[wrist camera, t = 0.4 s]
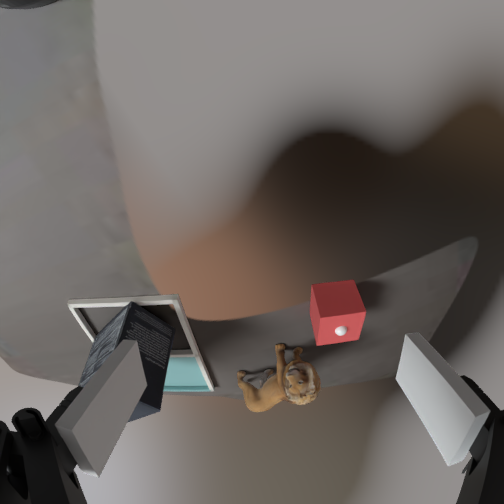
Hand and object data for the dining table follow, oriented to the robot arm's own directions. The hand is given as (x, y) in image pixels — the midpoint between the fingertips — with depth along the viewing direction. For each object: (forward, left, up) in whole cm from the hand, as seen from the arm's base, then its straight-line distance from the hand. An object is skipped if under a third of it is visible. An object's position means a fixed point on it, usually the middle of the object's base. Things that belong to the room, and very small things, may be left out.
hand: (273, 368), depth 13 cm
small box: (+14, -16, -14) cm, 25 cm away
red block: (+11, +7, -15) cm, 20 cm away
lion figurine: (+22, 0, -15) cm, 26 cm away
